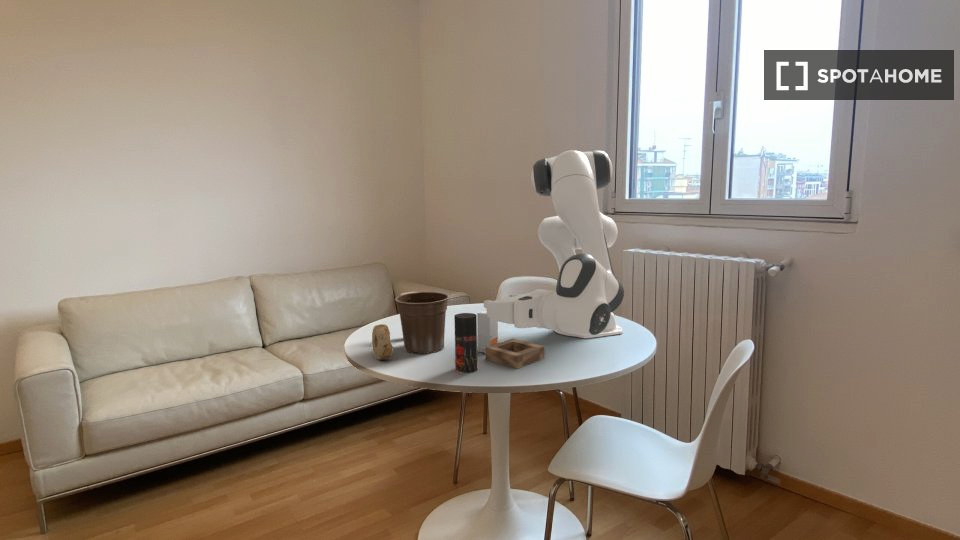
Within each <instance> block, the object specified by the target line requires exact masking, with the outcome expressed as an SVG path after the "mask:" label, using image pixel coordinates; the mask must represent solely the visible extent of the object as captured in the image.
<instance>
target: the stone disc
mask: <svg viewBox="0 0 960 540" xmlns="http://www.w3.org/2000/svg"><path fill="white" fill-rule="evenodd" d="M371 333H372V335H371V338H372V339H371V346H372V347H371V348H372V351H373V354H374V356H375V358H376V359H377V360H378V361H379V360H380V361H381V360H383V361H384V360H390V359H391V358H392V355H393V354H394V353H393V351H394V347H393V344H392V342H391V332H390V329H389V327H388V325H387V324H384V323H383V324H377V325H374V327H373V328H372V332H371Z"/></svg>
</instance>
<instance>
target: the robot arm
mask: <svg viewBox="0 0 960 540" xmlns="http://www.w3.org/2000/svg"><path fill="white" fill-rule="evenodd" d="M613 169H614V168H613V163H612V160H611V159H610V157H609V155H608V153H606V152H605V151H604V150H599V149H598V150H592V151H579V150H575V149H574V150H573V149H571V150H566V151H563V152H561V153H559V154H558V155H556V156H552V157H549V158H547V157H545V158H541V159H538V160H536V162H535V163H534V164H533V166H532V171H531V175H530V176H531V177H530V179H531V184H532V187H533V188H534V190H535V192H536V193H537V194H538V195H540V196H544V197H551V200H552V204H553V208H554V210H555V213H556V215H555V216H550V217H545V218H544V219H542V221H541V222H540V224H539V226H538V230H537V236H538V239H539V241H540V243H541V244H542V245H543V246H544V247H545V248H546V249H547V250H548V251H550V253H551V254H552V255H553V257H554V259H555V261H556V262H557V267H558V271H559V272H558V276H557V281H556V286H555V290H550V289H549V290H548V289H542V288H537V289H535V290H533V291H532V292H527V293H523V294H515V293H513V294H509V296H508V297H505V298H500V299H496V300H492V299H486V300H484V301H483V308H485V309H486V311H487V317H488V318H490V319H492V320H496V321H498V323H503V324H504V323H505V324H508V325H509V324H510V325H514V327H515V328H517V329H527V328H528V329H529V328H537V329H546V330H549V331H550V330H552V331H553V330H554V332H555V333H557V334H559V335H561V336H566V337H567V336H568V337H575V338H576V337H577V338H580V339H591V338H598V337H599V338H600V337H608V336H613V335H622V334H623V328H622V327H621V326H620V325H618V324H617V322H616V321H617V320H616V318H615V314H614V313H613V312H614V311H616V310H617V309H618V308H619V306H620V305H621V304H622V302H623V300H624V296H625V289H624V286H623V283H622V282H621V281H620V280H619V278H618V277H617V276H616V273H614V268H613V266H612V261H611V257H610V256H611V255H610V252H609V248H611V247H612V246H613V245H614V244H615V243H616V241H617V238H618V234H619V233H618V232H619V230H618V226H617V224H616V222H615V221H614V219H612V218H611V217H609V216H607V215H605V214H603V213H602V212H601V211H600V205H599V200H598V198H599V197H598V192H597V190H600V189H603V188H605V187H607V186H608V185H609V184H610V182H611V179H612V176H613V171H614V170H613ZM576 250H581V253H576Z"/></svg>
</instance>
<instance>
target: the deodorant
mask: <svg viewBox="0 0 960 540" xmlns="http://www.w3.org/2000/svg"><path fill="white" fill-rule="evenodd" d="M454 353H455V354H454V355H455V359H454V361H455V372H457V371H458V373H460V372H461V373H460V374H471V372H472V373H474V372H477V371H478V351H477V314H476V313H472V312H459V313H455V315H454Z"/></svg>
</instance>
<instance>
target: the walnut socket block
mask: <svg viewBox="0 0 960 540" xmlns="http://www.w3.org/2000/svg"><path fill="white" fill-rule="evenodd" d="M545 352H546V351H545V346H544V345H541V344H536V343H532V342H529V341H524V340H520V339H516V338H511V339H507V340H504V341H502V342H501V341H500V342H498V344H495V345H491V346H488V347H485V352H484V353H485V355H484V356H485V357H484V358H485V359H484V360H487V361H491V362H494V363H497V364H501V365H504V366H507V367H512V368H515V369H521V368H522V367H525V366H527V365H530V364H533V363H535V362H538V361H540V360H543V359H545V354H546V353H545Z"/></svg>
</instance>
